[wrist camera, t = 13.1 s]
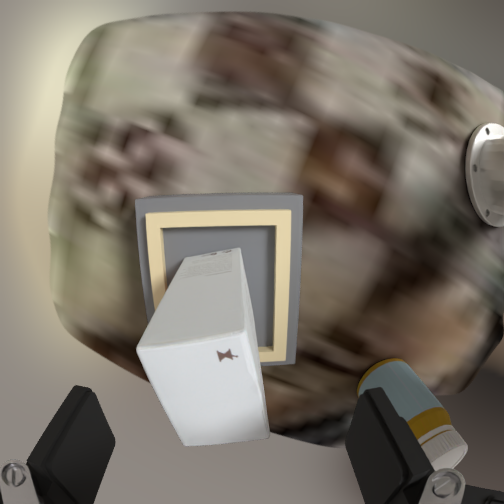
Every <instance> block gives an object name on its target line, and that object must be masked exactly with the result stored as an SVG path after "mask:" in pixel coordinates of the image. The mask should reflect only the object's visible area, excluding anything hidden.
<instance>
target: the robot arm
mask: <svg viewBox="0 0 504 504" xmlns="http://www.w3.org/2000/svg"><path fill="white" fill-rule="evenodd" d="M465 171H466V182H467V188H468V192H469V196H470V199H471V202H472V205H473V207H474V209H475V211H476V213H477V214H478V216H479V217H480V218H481V219H482V220H483V221H484V222H485V223H487V224H488V225H492V226H495V227H502V226H504V127H502V126H501V125H499V124H496V123H485V124H482V125H480V126H479V127H477V128H476V130H475V131H474V132H473V134H472V136H471V138H470V140H469V144H468V147H467V153H466V167H465ZM345 445H346V450H347V452H348V455H349V458H350V461H351V464H352V467H353V469H354V472H355V475H356V478H357V481H358V484H359V487H360V490H361V493H362V495H363V499H364V502H365V504H504V492H501V491H496V490H490V489H485V488H479V487H475V486H470V485H465V480H464V477H463V476H462V474H461V473H460V472H458V471H457V470H454V469H451V468H443V469H439V470H437V471H435V470H434V468H433V466H432V464H431V463H430V461H429V459H428V457H427V456H426V454H425V452H424V450H423V449H422V447H421V445H420V444H419V442H418V440H417V438H416V437H415V435H414V433H413V432H412V430H411V428H410V427H409V425H408V423H407V422H406V420H405V419H404V418H403V417H401V416H400V417H399V415H398V413H397V411H396V410H395V408H394V406H393V405H392V403H391V401H390V400H389V398H388V396H387V395H386V393H385V391H384V390H383V388H382V387H377V388H371V389H366V390H365V391H364V393H363V394H360V396H359V399H358V402H357V406H356V409H355V412H354V416H353V419H352V422H351V425H350V428H349V431H348V434H347V437H346V441H345ZM114 447H115V437H114V435H113V433H112V431H111V429H110V427H109V425H108V422H107V420H106V418H105V416H104V413H103V411H102V409H101V407H100V404H99V401H98V399H97V396H96V394H95V393H94V392H92V390H91V389H90V388H88V387H82V386H77V385H76V386H74V387H73V388H72V390H71V391H70V393H69V394H68V396H67V397H66V399H65V400H64V402H63V403H62V405H61V406H60V408H59V409H58V411H57V413H56V414H55V415H54V417H53V419H52V420H51V422H50V423H49V425H48V427H47V428H46V430H45V431H44V433H43V434H42V436H41V438H40V439H39V441H38V443H37V444H36V446H35V448H34V449H33V451H32V453H31V454H30V456H29V458H28V459H27V463H26V464H25V463H24V462H22V461H20V460H16V459H14V460H8V461H6V462H5V463H3V464H2V465H1V467H0V504H93V503H94V501H95V498H96V495H97V492H98V489H99V487H100V484H101V481H102V478H103V476H104V473H105V470H106V468H107V465H108V462H109V460H110V457H111V455H112V452H113V449H114Z"/></svg>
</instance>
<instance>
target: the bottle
mask: <svg viewBox="0 0 504 504" xmlns="http://www.w3.org/2000/svg"><path fill="white" fill-rule="evenodd" d="M377 387H382V388H383V390H384V391H385V393H386V395H387V396H388V398H389V400H390V401H391V403H392V405H393V406H394V408H395V410H396V411H397V413H398V415H399V417H400V416H401V417H403V418H404V419H405V420H406V422H407V423H408V425H409V427H410V428H411V430H412V432H413V433H414V435H415V437H416V438H417V440H418V442H419V444H420V445H421V447H422V449H423V450H424V452H425V454H426V456H427V457H428V459H429V461H430V463H431V464H432V466H433V468H434V470H435V471H437V470H439V469H443V468H451V469H453V468H454V467H455V466H456V465H457V464H458V463H459V462H460V461H461V460H462V458H463V457H464V456H465V454H466V452H467V450H468V447H467V444H466V443H465V441H464V440H463V439H462V437H461V436H460V435H459V433H458V432H456V430H455V429H454V428H453V427H452V425H451V422H450V417H449V414H448V413H447V411H446V410H445V408H444V407H443V406H442V405H441V404H440V402H439V401H438V400H437V399H436V398H435V396H434V395H433V394H432V393H431V391H430V390H429V389H428V388H427V387H426V385H425V384H424V383H423V382H422V381H421V380H420V378H419V377H418V376H417V375H416V374H415V372H414V371H413V370H412V369H411V368H410V367H409V365H408V364H407V363H406V362H405V361H403V360H401V359H397V358H392V359H387V360H382V361H380V362H378V363H376V364H375V365H373V366H372V367H371V368H369V369H368V370H367V371H366V373H365V374H364V375H363V377H362V378H361V380H360V382H359V384H358V388H357V395H358V398H359V396H360V394H363V393H364V391H365V390H366V389H371V388H377Z"/></svg>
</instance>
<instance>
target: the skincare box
mask: <svg viewBox="0 0 504 504" xmlns="http://www.w3.org/2000/svg"><path fill="white" fill-rule="evenodd" d="M136 352H137V354H138V356H139V358H140V361H141V363H142V366H143V368H144V370H145V372H146V374H147V377H148V379H149V381H150V383H151V385H152V387H153V389H154V391H155V393H156V395H157V397H158V399H159V401H160V403H161V405H162V407H163V409H164V411H165V413H166V415H167V416H168V418H169V420H170V422H171V424H172V426H173V427H174V429H175V431H176V433H177V434H178V436H179V438H180V440H181V442H182V444H183V445H184V446H204V445H216V444H227V443H236V442H245V441H254V440H261V439H267V438H269V436H270V431H269V424H268V416H267V409H266V401H265V394H264V386H263V379H262V373H261V366H260V358H259V352H258V344H257V337H256V329H255V322H254V315H253V309H252V304H251V299H250V294H249V289H248V283H247V279H246V274H245V269H244V264H243V259H242V254H241V249H240V248H234V249H229V250H223V251H217V252H212V253H208V254H202V255H197V256H191V257H186V258H184V260H183V262H182V264H181V265H180V267H179V269H178V271H177V272H176V274H175V276H174V278H173V280H172V281H171V283H170V285H169V287H168V289H167V290H166V292H165V294H164V296H163V298H162V300H161V301H160V303H159V305H158V307H157V309H156V311H155V313H154V315H153V316H152V318H151V320H150V322H149V324H148V326H147V328H146V330H145V332H144V334H143V336H142V337H141V339H140V341H139V343H138V345H137V348H136Z"/></svg>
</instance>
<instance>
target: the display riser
mask: <svg viewBox="0 0 504 504" xmlns="http://www.w3.org/2000/svg"><path fill="white" fill-rule="evenodd" d="M135 208H136V224H137V238H138V249H139V259H140V269H141V277H142V285H143V293H144V300H145V307H146V314H147V320H148V324H149V322H150V320H151V318H152V316H153V315H154V313H155V311H156V309H157V307H158V305H159V303H160V301H161V300H162V298H163V296H164V294H165V292H166V290H167V289H168V287H169V285H170V283H171V281H172V280H173V278H174V276H175V274H176V272H177V271H178V269H179V267H180V265H181V264H182V262H183V260H184V258H186V257H191V256H197V255H202V254H208V253H212V252H217V251H223V250H229V249H234V248H240V249H241V254H242V259H243V264H244V269H245V274H246V279H247V283H248V289H249V294H250V299H251V304H252V309H253V315H254V322H255V329H256V337H257V344H258V352H259V358H260V366H272V365H287V364H295V357H296V344H297V331H298V316H299V299H300V280H301V257H302V225H303V195H299V194H295V193H211V194H183V195H163V196H149V197H144V198H140V199H136V200H135Z"/></svg>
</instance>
